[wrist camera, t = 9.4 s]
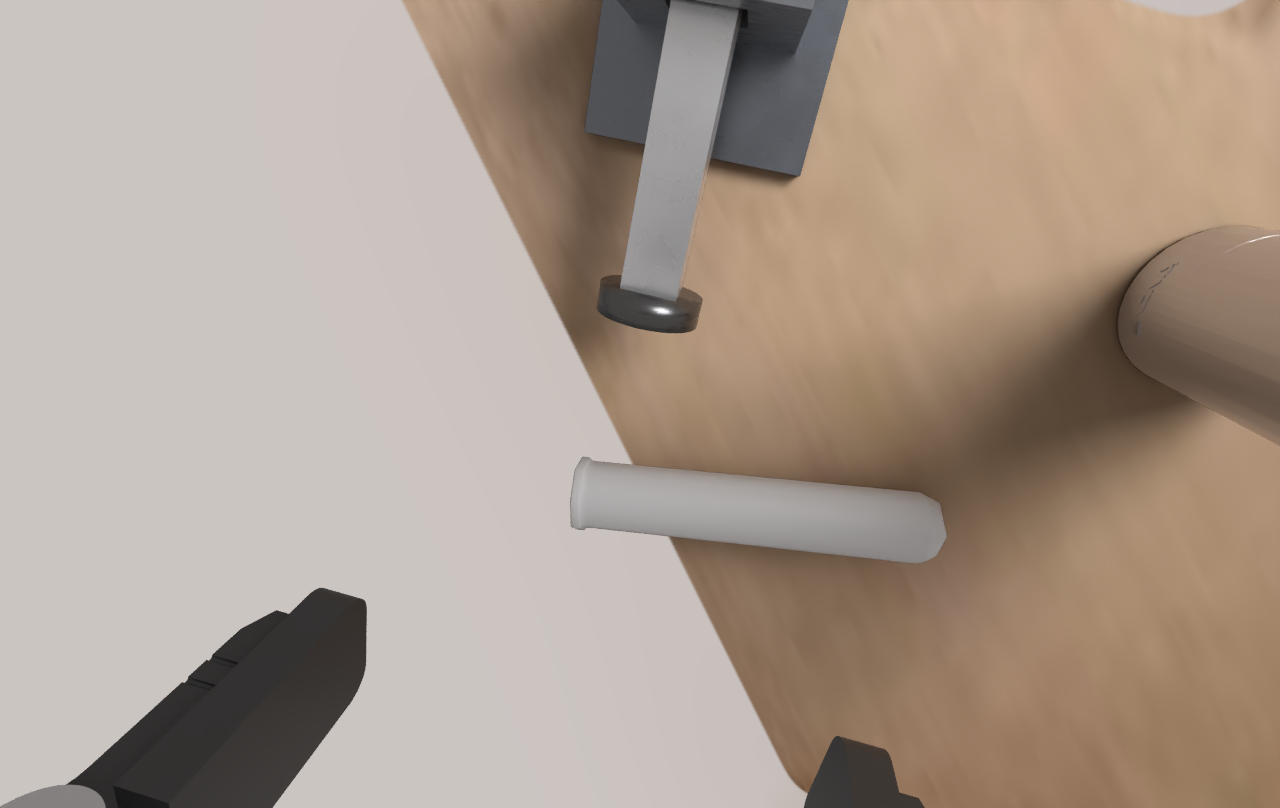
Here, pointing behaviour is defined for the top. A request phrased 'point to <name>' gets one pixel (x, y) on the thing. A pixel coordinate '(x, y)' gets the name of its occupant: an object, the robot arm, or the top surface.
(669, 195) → the shaft
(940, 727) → the top surface
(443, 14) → the top surface
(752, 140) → the bearing block
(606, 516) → the tube
